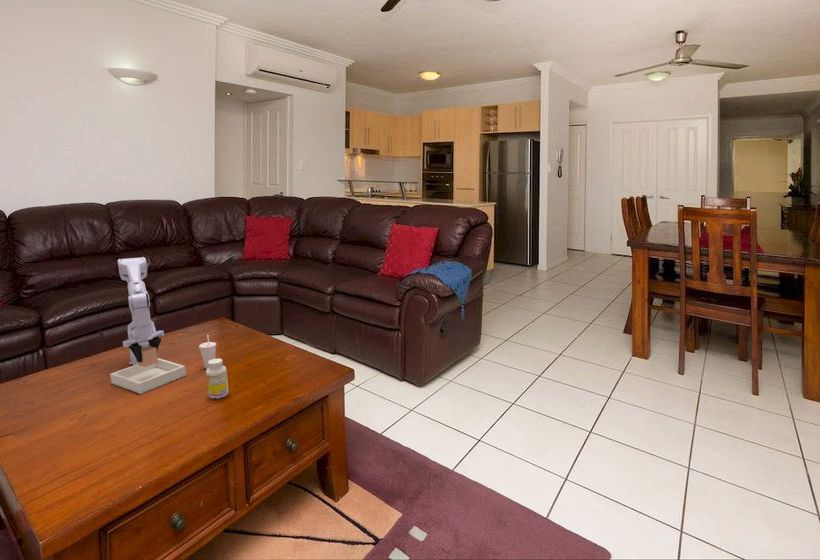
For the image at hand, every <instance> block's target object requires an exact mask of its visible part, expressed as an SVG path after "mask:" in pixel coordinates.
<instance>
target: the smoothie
mask: <svg viewBox="0 0 820 560" xmlns="http://www.w3.org/2000/svg"><path fill="white" fill-rule="evenodd" d="M206 338H207V342H203V343H200V344H199V345H198V348H199V350H200V354H201V358H202V362H203V365H204V366H203V367H204V369H206V370H207V369H208V368H209V366H208V361H210V360H212V359H216V349H217V348H216V347H217V343H216V342H213V341H210V336H209V333H208V334H207V333H206Z"/></svg>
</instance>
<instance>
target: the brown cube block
mask: <svg viewBox="0 0 820 560" xmlns="http://www.w3.org/2000/svg"><path fill="white" fill-rule="evenodd" d="M141 355H142V362H141V363H140V362H137V365H140V366H143V367H147V366H150V365H153V364H156V363H158V358H159V357H158V350H156V348H155V347H152V346H145V347H142V350H141Z"/></svg>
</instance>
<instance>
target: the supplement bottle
mask: <svg viewBox="0 0 820 560" xmlns="http://www.w3.org/2000/svg"><path fill="white" fill-rule="evenodd" d="M223 363H224V361H223V359H222V358H215V359H212V360H210V361H208V366H209V368H208V369H206V371H205V376H206V384H207V394H208V397H209V398H210V399H214V398H216V399H222V398H225V397H226V396H227V395H228V394H229V393H230V392H229V383H228V382H229V381H228V374H227V373H228V371H227V367H226V366H225V365H223ZM221 397H222V398H221Z"/></svg>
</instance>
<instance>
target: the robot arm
mask: <svg viewBox="0 0 820 560" xmlns="http://www.w3.org/2000/svg"><path fill="white" fill-rule="evenodd" d="M117 266H118V274H119V277H120V279H121V280H122V281H126V283H127V290H128V297H127V298H128V307H129V309H130V313H131V319H132V321H131V322H130V323H129V324H128V325H127V338H128V339H126V340H124V341H122V347H123V348H129V355H130V362H128V364H129V365H131V364H132V366H134V365H137V362H140V363H141V362H142V355H141V350H142V347H145V346H152V347H155V348H156V350H157V351H158V349H159V346H160V344H161V343H162V338H161V337H165V332H164V330H156V326H155V322H154V321H153V320H151V319H152V318H151V313H150V308H151V307H150V306H151V302H150V294H149V293H148V291H147V288H146V284H145V282H144V281H143V280H145V278H147V276H148V264H147V259H146V257H144V256H141V257H129V258H118V260H117Z"/></svg>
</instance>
